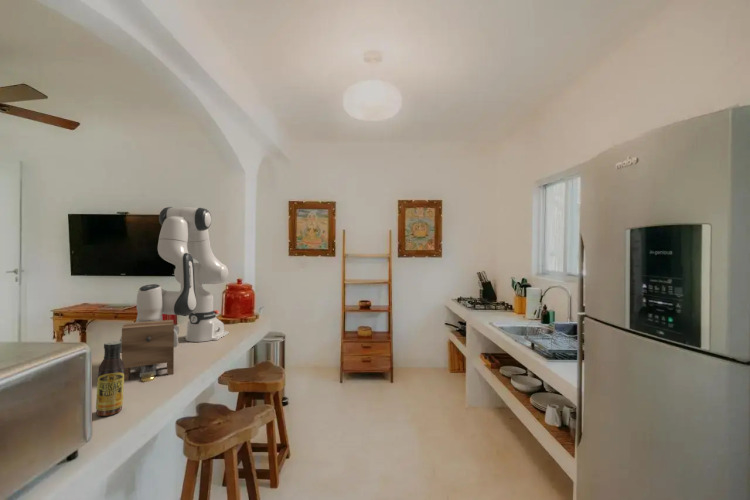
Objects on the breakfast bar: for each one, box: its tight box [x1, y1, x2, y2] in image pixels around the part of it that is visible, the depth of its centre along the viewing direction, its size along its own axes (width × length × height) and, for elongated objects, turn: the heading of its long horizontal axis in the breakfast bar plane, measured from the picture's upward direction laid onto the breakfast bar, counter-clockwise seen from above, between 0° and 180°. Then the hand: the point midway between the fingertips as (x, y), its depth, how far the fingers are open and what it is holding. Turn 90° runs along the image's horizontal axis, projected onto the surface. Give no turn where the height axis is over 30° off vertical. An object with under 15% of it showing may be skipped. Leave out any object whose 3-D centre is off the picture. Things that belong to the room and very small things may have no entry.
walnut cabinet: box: [121, 319, 175, 382], centre depth 138 cm, size 11×16×18 cm
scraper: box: [139, 364, 158, 378], centre depth 142 cm, size 18×5×4 cm, turn 30°
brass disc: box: [140, 375, 156, 383], centre depth 132 cm, size 4×4×1 cm
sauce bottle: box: [95, 340, 125, 417], centre depth 106 cm, size 6×6×20 cm
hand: (149, 361), depth 147 cm, fingers closed on scraper, 2 cm apart
